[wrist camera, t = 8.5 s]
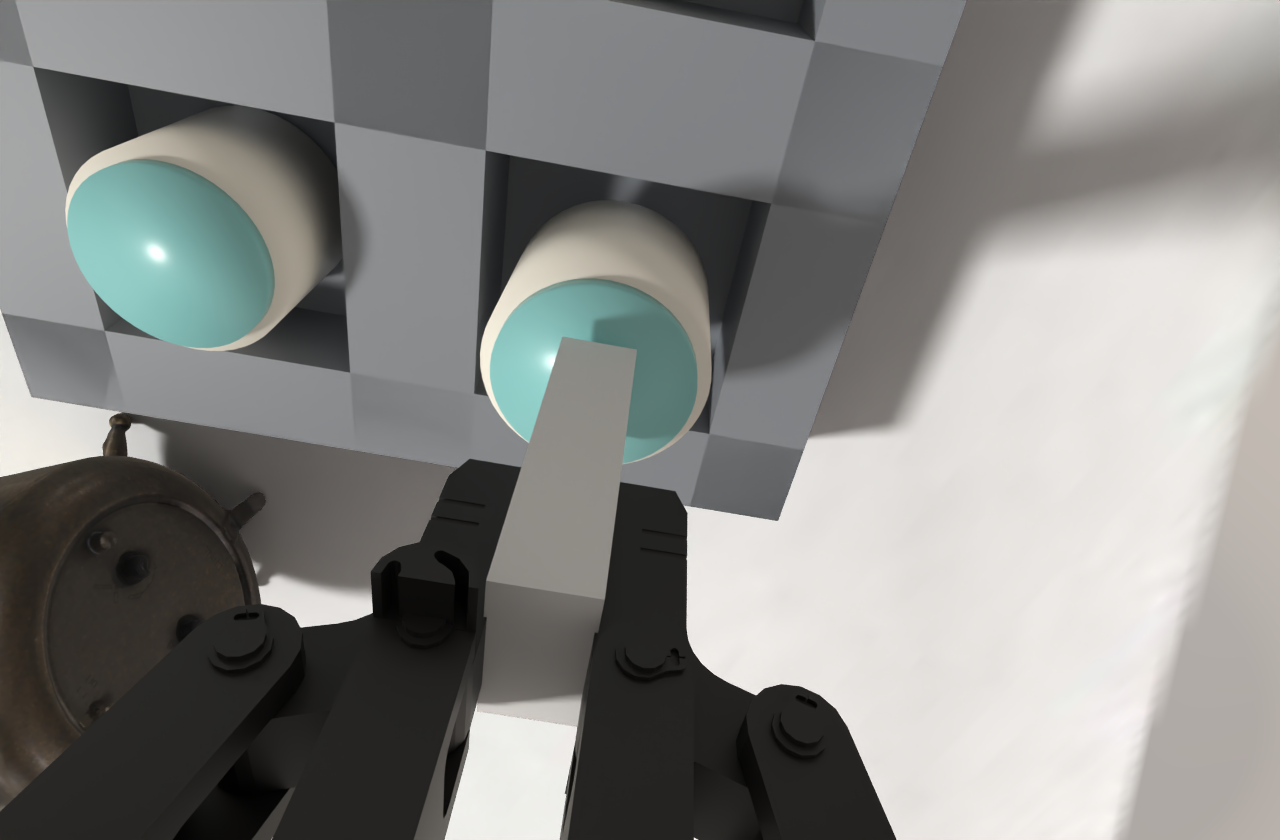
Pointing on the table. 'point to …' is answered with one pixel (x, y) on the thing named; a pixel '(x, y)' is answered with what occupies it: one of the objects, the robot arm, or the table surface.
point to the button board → (480, 199)
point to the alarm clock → (102, 590)
